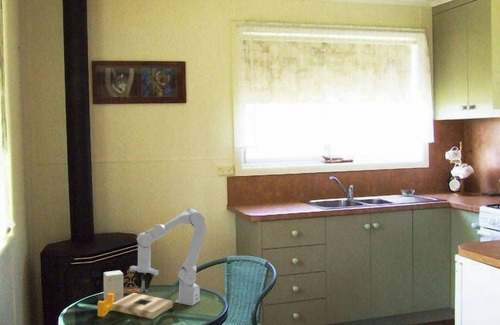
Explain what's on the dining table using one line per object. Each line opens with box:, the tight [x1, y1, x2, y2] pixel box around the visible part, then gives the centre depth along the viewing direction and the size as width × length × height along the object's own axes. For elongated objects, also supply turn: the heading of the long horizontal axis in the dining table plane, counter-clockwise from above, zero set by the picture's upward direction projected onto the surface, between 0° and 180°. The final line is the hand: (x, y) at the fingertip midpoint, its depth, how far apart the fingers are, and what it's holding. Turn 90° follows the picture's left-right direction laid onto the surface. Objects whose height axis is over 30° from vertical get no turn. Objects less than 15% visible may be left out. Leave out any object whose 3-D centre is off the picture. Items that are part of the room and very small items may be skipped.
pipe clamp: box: [97, 293, 115, 317], centre depth 229 cm, size 12×4×6 cm, turn 172°
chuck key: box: [140, 276, 148, 294], centre depth 235 cm, size 3×6×7 cm, turn 160°
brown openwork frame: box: [123, 268, 141, 295], centre depth 254 cm, size 9×4×12 cm, turn 104°
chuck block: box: [111, 293, 174, 320], centre depth 233 cm, size 22×16×3 cm
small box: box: [103, 269, 124, 302], centre depth 243 cm, size 8×6×13 cm
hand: (143, 288), depth 234 cm, fingers closed on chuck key, 3 cm apart
